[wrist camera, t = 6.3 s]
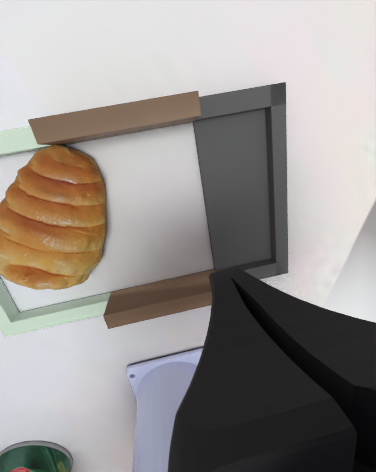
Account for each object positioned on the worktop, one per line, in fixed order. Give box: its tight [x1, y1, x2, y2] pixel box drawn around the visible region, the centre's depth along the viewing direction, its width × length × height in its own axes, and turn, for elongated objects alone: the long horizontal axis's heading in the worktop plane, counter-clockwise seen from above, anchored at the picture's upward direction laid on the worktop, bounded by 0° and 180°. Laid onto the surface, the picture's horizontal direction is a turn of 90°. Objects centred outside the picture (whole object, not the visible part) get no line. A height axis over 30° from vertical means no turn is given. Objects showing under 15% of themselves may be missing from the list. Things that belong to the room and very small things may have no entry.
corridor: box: [28, 91, 216, 329], centre depth 16 cm, size 14×9×3 cm, turn 10°
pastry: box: [0, 144, 106, 290], centre depth 15 cm, size 9×7×4 cm
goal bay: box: [0, 126, 111, 337], centre depth 16 cm, size 14×8×1 cm, turn 10°
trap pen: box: [193, 82, 288, 279], centre depth 17 cm, size 14×6×1 cm, turn 10°
